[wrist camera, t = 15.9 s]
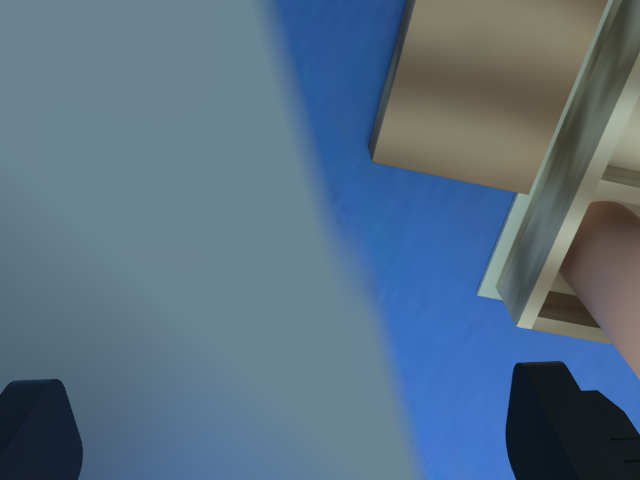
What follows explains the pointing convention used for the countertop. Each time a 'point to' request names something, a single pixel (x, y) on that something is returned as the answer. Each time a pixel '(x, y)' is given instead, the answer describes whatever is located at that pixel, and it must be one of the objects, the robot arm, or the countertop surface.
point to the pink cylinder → (609, 274)
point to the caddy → (580, 181)
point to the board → (481, 87)
